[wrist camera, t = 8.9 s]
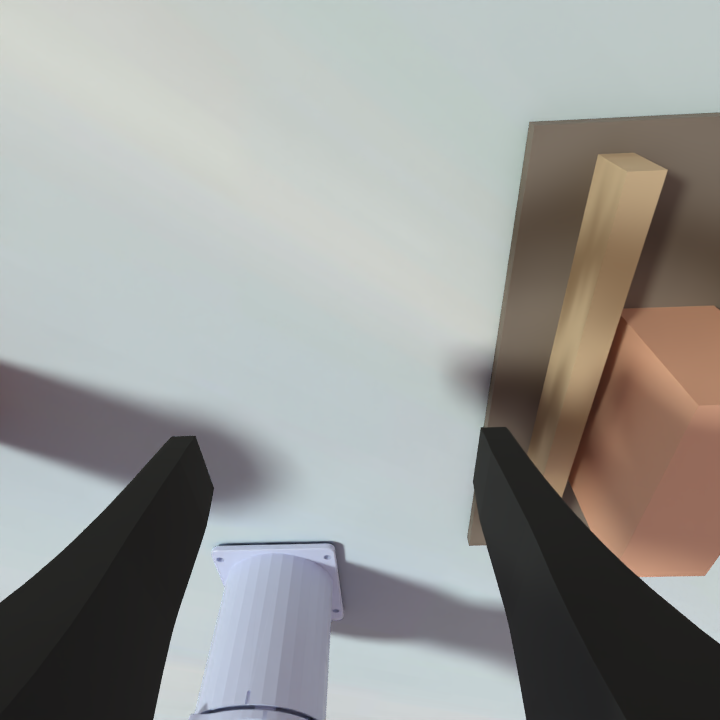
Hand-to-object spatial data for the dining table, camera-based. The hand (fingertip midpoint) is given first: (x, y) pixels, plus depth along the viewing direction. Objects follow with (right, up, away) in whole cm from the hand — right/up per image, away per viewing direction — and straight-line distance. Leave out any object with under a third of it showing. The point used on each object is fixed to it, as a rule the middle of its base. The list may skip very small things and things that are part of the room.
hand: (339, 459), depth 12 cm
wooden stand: (+13, +1, +11) cm, 17 cm away
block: (+13, +1, +10) cm, 17 cm away
